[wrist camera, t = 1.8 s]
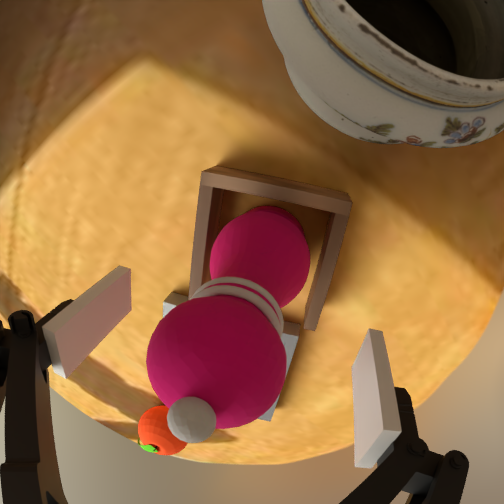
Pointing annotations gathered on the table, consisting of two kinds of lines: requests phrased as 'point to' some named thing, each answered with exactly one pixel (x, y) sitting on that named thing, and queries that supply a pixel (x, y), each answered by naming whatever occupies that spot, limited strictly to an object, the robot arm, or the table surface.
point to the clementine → (158, 432)
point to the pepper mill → (231, 328)
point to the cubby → (280, 190)
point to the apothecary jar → (397, 66)
